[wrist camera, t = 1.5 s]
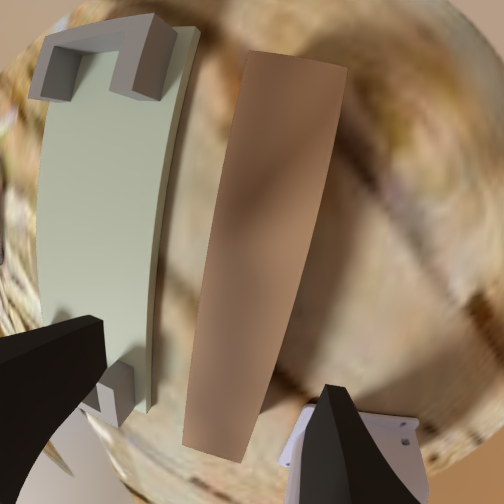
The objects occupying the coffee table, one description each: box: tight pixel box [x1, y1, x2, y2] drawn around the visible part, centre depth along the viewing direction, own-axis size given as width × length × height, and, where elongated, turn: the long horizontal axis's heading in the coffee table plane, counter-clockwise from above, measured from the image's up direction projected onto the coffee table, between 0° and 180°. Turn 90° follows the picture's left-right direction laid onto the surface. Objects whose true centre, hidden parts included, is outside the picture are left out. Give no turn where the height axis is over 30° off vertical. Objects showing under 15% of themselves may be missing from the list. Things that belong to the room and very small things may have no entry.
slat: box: [182, 50, 348, 463], centre depth 15 cm, size 4×22×5 cm, turn 168°
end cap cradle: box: [28, 13, 201, 429], centre depth 17 cm, size 11×28×4 cm, turn 168°
